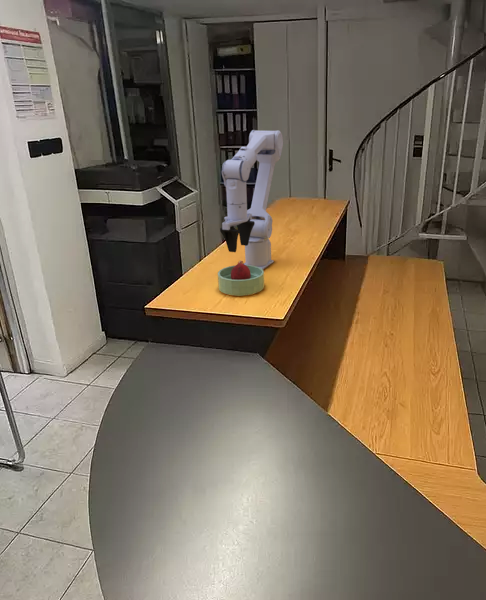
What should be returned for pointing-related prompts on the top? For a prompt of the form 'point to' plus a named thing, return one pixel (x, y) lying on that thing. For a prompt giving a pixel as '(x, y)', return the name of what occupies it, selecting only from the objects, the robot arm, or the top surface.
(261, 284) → the bowl
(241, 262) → the onion
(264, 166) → the robot arm
